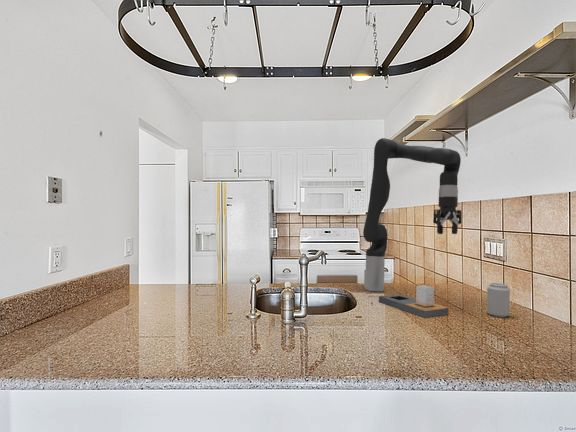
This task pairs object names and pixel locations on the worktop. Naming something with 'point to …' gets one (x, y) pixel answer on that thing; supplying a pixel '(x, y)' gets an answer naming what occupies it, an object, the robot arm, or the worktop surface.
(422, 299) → the peg
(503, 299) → the can
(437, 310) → the grey peg board
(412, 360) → the worktop surface
